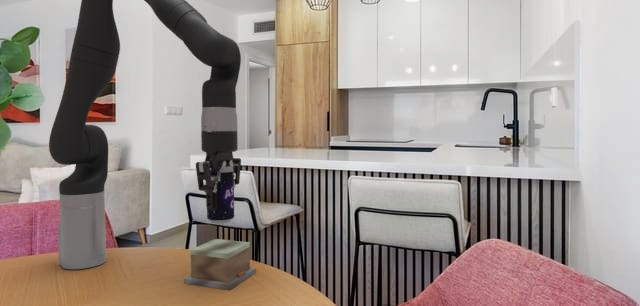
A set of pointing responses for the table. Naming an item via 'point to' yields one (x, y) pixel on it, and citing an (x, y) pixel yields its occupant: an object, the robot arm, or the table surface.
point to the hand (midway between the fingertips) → (220, 207)
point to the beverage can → (224, 197)
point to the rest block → (220, 264)
